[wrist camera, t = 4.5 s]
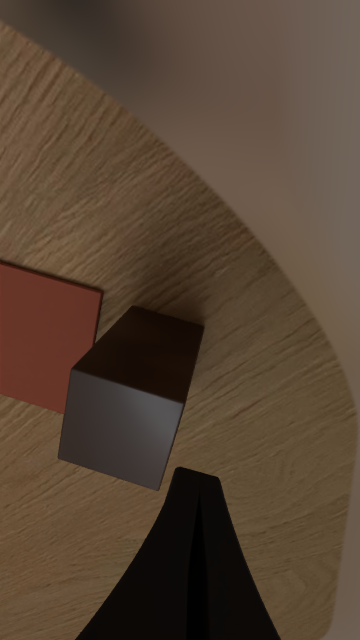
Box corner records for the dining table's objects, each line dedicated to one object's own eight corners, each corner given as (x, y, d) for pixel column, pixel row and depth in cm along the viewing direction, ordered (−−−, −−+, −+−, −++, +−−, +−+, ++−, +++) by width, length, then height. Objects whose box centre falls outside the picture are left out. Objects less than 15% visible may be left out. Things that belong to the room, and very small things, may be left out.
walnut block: (204, 326, 20) (185, 403, 12) (186, 389, 21) (158, 492, 14) (132, 305, 20) (70, 367, 13) (118, 369, 22) (56, 459, 14)
